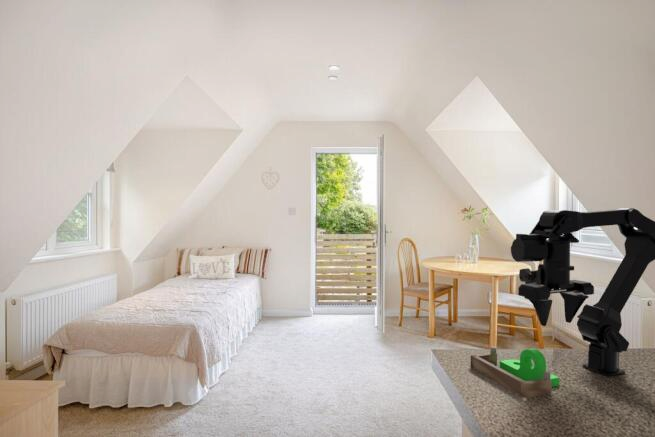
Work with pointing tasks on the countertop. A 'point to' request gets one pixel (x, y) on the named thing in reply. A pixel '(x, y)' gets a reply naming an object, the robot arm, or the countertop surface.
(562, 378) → the countertop surface
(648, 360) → the countertop surface
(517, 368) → the mechanical part
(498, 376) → the dock bracket
